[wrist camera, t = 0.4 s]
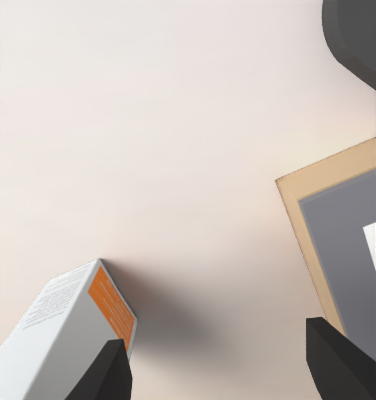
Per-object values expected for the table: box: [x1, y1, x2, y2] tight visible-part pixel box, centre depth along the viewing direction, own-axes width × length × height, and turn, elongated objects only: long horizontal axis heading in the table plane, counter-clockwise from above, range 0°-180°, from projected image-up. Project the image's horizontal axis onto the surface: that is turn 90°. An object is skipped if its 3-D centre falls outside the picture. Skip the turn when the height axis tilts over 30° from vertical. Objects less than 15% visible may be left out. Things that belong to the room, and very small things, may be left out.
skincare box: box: [0, 259, 138, 400], centre depth 17 cm, size 6×4×12 cm
